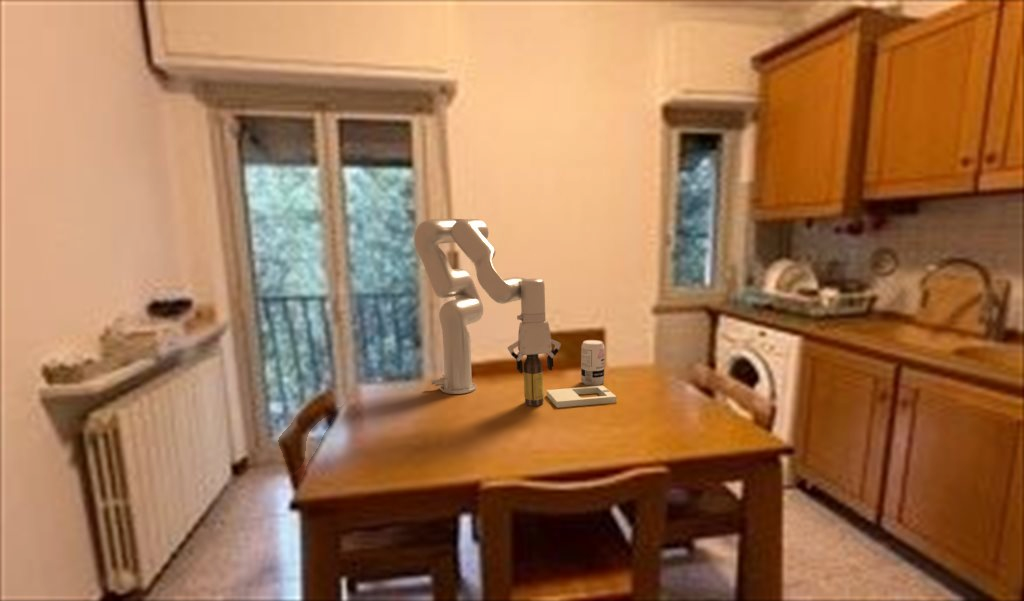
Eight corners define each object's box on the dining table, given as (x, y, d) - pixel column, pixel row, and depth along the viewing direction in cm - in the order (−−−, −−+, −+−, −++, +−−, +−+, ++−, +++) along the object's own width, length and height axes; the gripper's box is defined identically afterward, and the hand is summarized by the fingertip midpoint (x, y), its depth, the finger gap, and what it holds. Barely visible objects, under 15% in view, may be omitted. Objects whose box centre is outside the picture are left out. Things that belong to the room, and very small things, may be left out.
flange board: (556, 407, 178) (556, 401, 178) (546, 395, 190) (546, 389, 189) (616, 402, 182) (616, 396, 182) (602, 391, 194) (602, 385, 193)
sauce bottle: (544, 400, 185) (544, 341, 182) (542, 407, 179) (541, 345, 176) (525, 399, 186) (524, 340, 183) (522, 406, 180) (521, 345, 177)
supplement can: (581, 379, 208) (581, 339, 206) (603, 379, 207) (604, 339, 204) (580, 385, 200) (581, 344, 198) (604, 386, 199) (604, 345, 196)
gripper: (509, 322, 173) (511, 376, 175) (563, 318, 176) (564, 371, 179) (504, 318, 180) (506, 370, 182) (556, 314, 183) (557, 365, 186)
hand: (535, 370), depth 180 cm, fingers open, 9 cm apart
